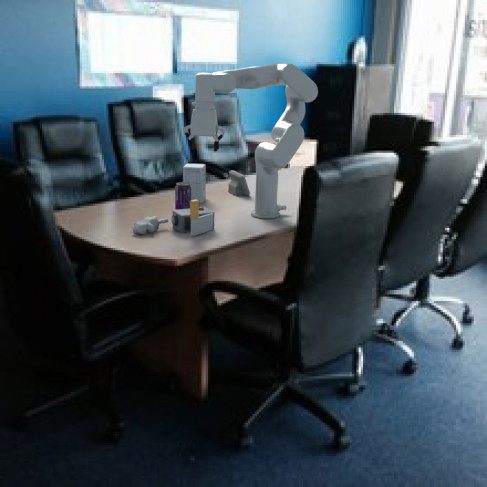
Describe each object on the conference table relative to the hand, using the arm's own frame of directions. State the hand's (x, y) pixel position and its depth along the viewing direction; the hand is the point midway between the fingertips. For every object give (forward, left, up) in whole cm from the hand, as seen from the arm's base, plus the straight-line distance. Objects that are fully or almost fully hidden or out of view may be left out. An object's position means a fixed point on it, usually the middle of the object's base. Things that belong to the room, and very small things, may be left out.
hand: (204, 150), depth 228 cm
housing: (+7, +6, -30) cm, 31 cm away
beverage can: (0, -21, -30) cm, 37 cm away
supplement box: (-12, -36, -30) cm, 49 cm away
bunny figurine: (+24, +2, -30) cm, 39 cm away
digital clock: (-39, -42, -30) cm, 65 cm away
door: (+7, +14, -29) cm, 33 cm away
